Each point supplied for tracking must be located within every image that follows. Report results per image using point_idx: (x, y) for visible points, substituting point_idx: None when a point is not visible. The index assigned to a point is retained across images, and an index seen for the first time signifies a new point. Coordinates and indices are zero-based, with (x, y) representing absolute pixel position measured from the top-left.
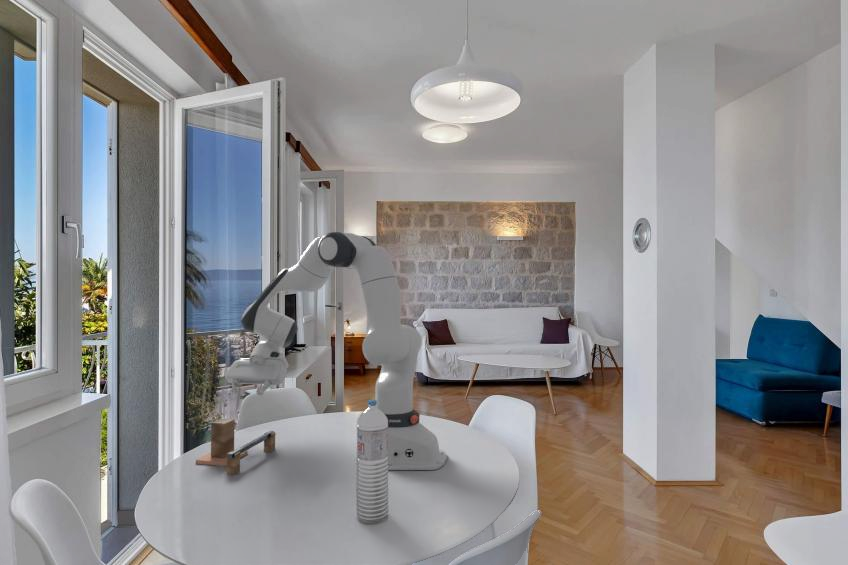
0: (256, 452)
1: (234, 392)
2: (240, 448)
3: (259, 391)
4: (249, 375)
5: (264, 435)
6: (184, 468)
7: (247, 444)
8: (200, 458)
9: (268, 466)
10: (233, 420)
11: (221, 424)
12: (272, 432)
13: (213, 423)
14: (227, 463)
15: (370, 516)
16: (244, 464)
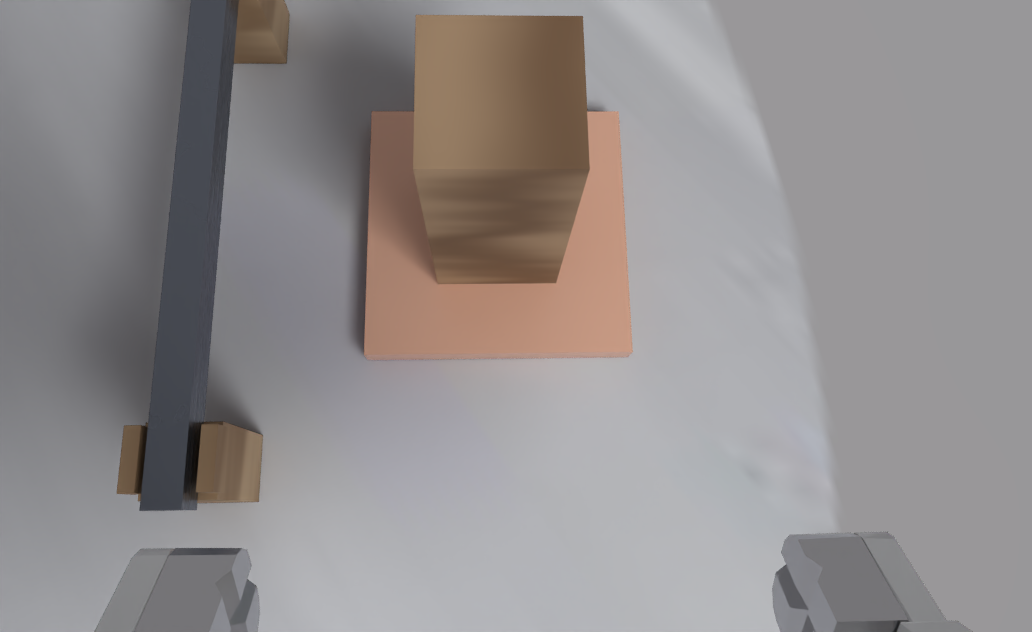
0: (316, 407)
1: (787, 544)
2: (204, 15)
3: (166, 555)
4: None
5: (169, 353)
6: (622, 46)
7: (199, 105)
8: (608, 141)
9: (78, 172)
10: (414, 156)
11: (457, 23)
12: (145, 479)
13: (553, 19)
14: None
15: None
16: (269, 173)
